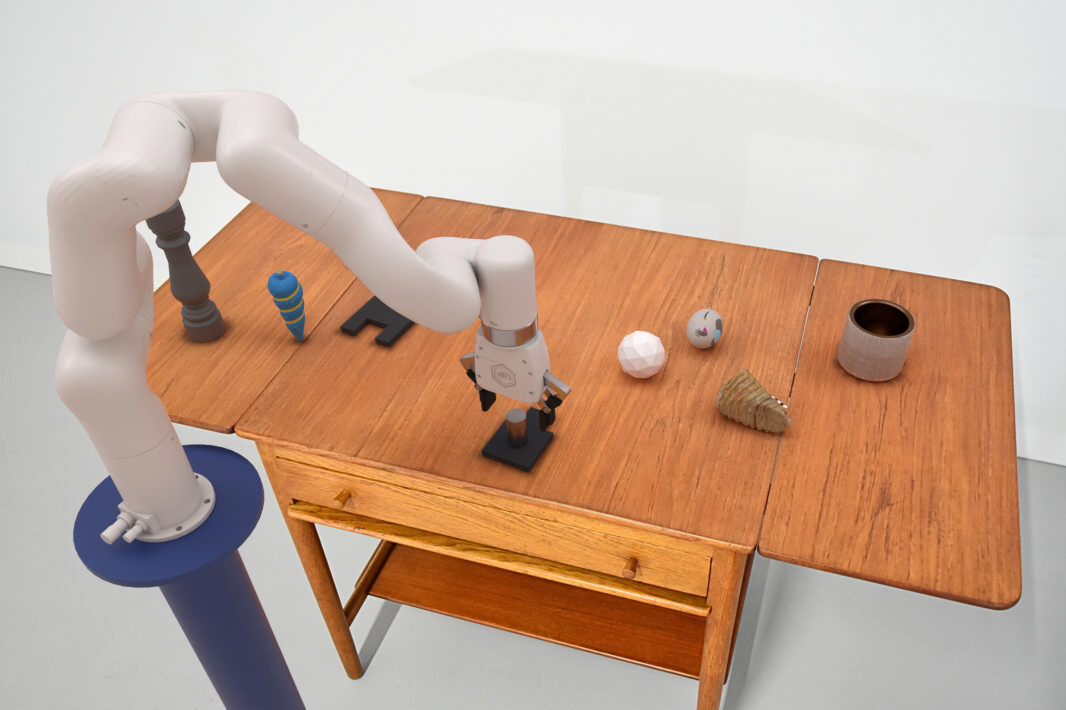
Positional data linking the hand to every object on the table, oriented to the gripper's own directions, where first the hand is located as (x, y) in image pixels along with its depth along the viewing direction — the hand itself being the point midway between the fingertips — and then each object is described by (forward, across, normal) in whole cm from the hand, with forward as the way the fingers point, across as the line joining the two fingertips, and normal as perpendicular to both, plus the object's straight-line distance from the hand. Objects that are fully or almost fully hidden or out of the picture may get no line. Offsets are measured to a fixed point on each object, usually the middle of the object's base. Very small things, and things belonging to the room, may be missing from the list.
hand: (517, 415), depth 132 cm
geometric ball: (+7, +10, +24) cm, 27 cm away
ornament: (+6, -46, +6) cm, 47 cm away
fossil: (+7, +30, +23) cm, 38 cm away
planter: (+7, +44, +43) cm, 62 cm away
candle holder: (+6, -62, +1) cm, 63 cm away
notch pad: (+6, -36, +15) cm, 40 cm away
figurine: (+7, +17, +35) cm, 39 cm away
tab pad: (+7, 0, +2) cm, 7 cm away
